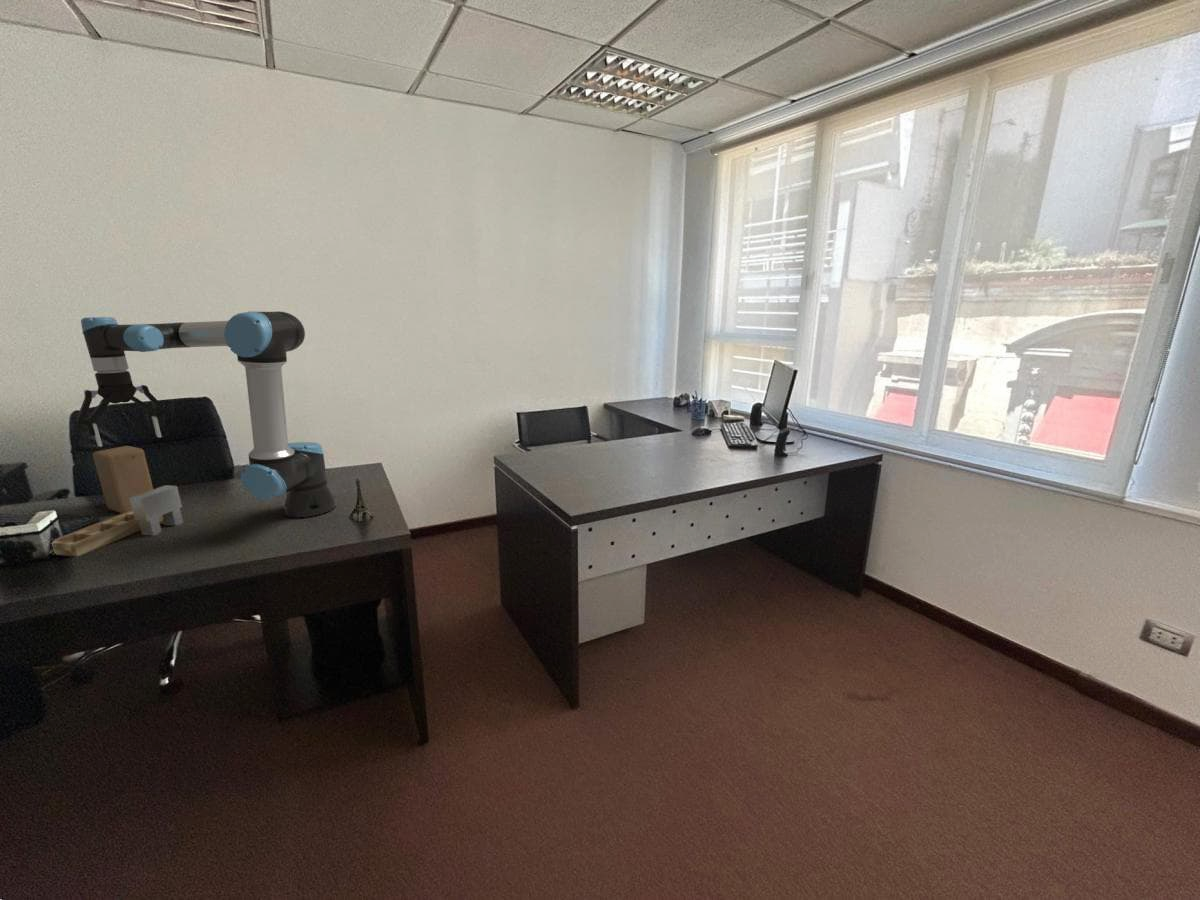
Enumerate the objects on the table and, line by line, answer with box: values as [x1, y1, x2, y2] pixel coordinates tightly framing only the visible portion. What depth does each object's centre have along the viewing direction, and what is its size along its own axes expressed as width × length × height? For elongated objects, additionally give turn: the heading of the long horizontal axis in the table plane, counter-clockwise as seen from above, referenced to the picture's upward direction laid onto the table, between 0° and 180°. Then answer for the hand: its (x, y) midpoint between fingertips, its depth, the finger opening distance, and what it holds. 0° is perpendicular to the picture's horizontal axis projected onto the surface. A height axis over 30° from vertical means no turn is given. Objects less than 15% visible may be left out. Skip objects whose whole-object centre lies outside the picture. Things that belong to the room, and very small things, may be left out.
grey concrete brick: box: [129, 484, 184, 537], centre depth 152 cm, size 4×11×12 cm, turn 172°
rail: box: [51, 510, 164, 557], centre depth 150 cm, size 9×28×4 cm, turn 172°
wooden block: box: [92, 445, 154, 514], centre depth 166 cm, size 10×10×20 cm
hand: (130, 441), depth 153 cm, fingers open, 13 cm apart
